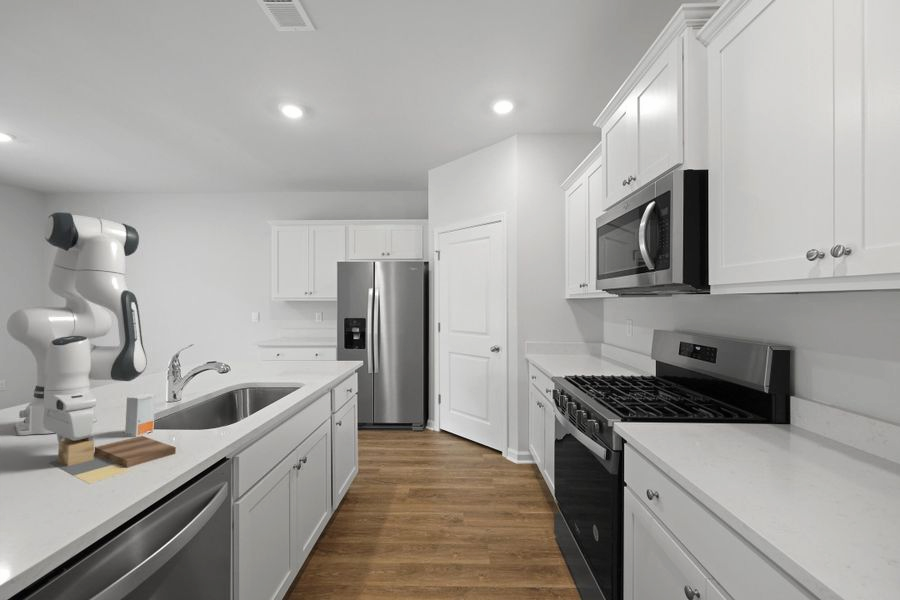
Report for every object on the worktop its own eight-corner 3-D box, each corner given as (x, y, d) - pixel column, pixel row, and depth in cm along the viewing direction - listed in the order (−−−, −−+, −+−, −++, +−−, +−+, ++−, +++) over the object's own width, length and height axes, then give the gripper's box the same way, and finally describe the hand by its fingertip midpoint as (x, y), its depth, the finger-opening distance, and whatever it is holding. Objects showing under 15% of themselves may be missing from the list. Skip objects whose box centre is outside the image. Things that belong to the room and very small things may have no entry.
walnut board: (94, 454, 107) (94, 447, 107) (141, 442, 117) (141, 435, 117) (127, 468, 99) (127, 460, 99) (175, 454, 108) (175, 447, 108)
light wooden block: (58, 461, 102) (59, 437, 102) (83, 455, 106) (84, 432, 106) (68, 466, 99) (68, 441, 99) (93, 459, 103) (94, 436, 103)
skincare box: (136, 437, 121) (137, 398, 121) (124, 436, 122) (125, 397, 122) (154, 431, 127) (155, 394, 127) (143, 430, 128) (144, 393, 128)
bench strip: (48, 463, 101) (48, 462, 101) (88, 453, 108) (88, 452, 108) (89, 484, 90) (89, 483, 90) (131, 472, 97) (131, 470, 97)
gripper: (36, 395, 108) (34, 447, 107) (67, 405, 98) (65, 462, 97) (67, 391, 113) (65, 440, 113) (99, 400, 103) (97, 454, 103)
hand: (65, 450), depth 105 cm, fingers closed
